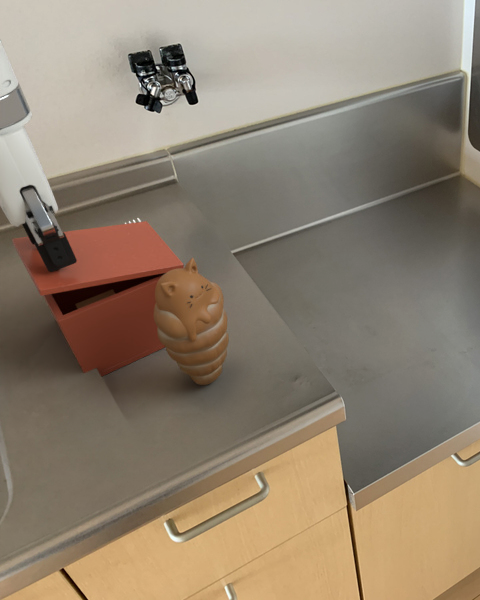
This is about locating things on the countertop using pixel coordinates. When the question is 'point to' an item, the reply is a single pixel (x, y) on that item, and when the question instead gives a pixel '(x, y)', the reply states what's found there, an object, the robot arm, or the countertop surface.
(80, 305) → the carton
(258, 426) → the countertop surface
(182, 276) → the cat ice cream
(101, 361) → the trash can
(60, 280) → the bin lid
